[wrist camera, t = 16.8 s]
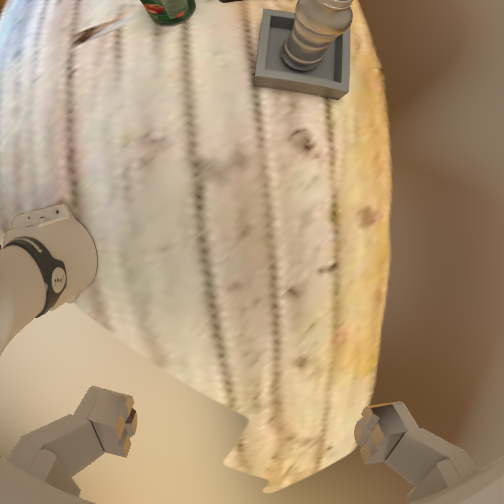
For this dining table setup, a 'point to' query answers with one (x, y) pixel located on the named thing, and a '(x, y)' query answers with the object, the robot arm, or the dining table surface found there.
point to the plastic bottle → (315, 31)
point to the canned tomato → (169, 11)
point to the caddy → (310, 81)
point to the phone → (228, 0)
